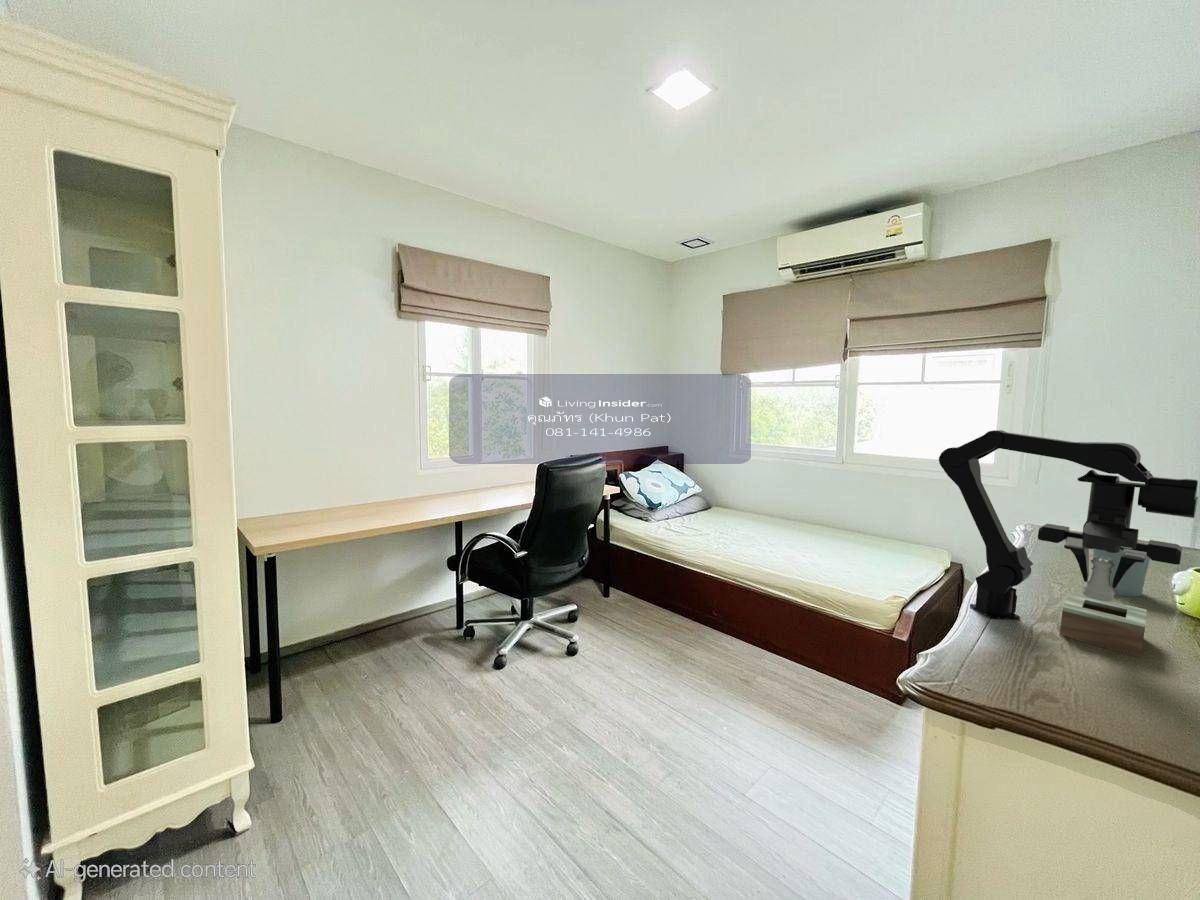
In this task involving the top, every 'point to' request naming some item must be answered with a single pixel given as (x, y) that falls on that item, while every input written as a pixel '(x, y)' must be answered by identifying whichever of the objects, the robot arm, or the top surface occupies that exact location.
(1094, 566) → the rook chess piece
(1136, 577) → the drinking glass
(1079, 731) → the top surface
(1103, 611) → the box
